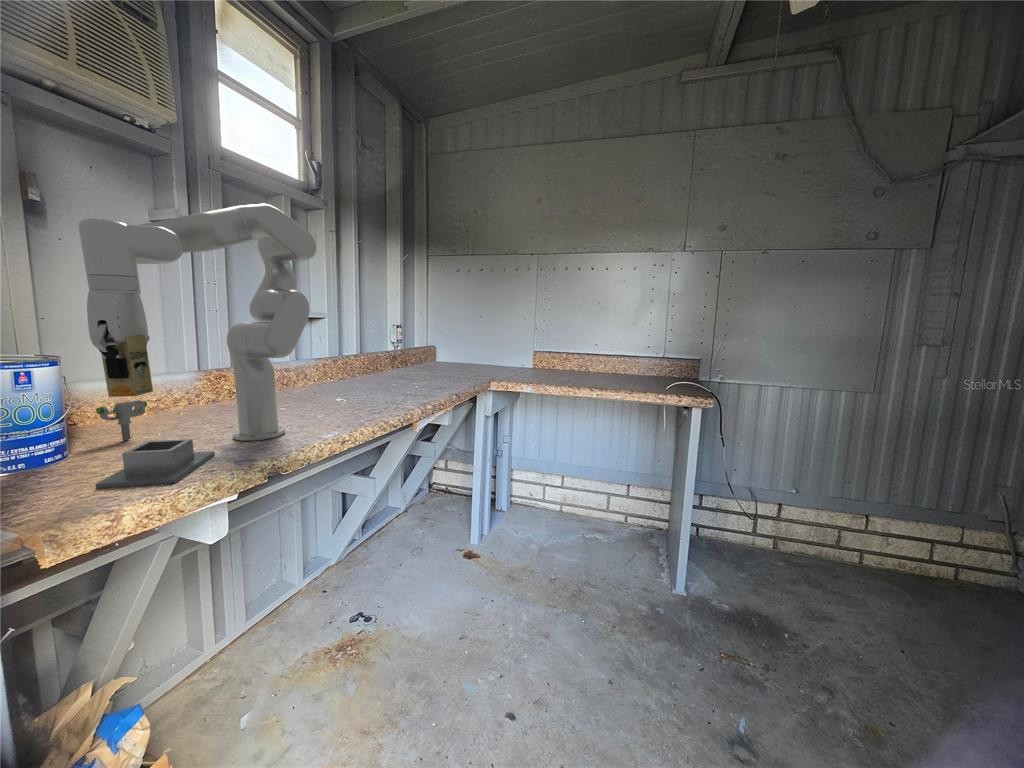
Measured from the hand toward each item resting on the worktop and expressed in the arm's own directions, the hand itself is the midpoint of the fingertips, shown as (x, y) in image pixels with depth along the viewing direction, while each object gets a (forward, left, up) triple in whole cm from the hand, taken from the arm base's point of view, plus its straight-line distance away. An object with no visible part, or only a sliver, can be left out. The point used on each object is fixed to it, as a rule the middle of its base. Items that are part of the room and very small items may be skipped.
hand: (128, 375), depth 86 cm
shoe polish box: (0, 0, -4) cm, 4 cm away
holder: (0, +4, -21) cm, 21 cm away
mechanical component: (-27, -17, -21) cm, 38 cm away
